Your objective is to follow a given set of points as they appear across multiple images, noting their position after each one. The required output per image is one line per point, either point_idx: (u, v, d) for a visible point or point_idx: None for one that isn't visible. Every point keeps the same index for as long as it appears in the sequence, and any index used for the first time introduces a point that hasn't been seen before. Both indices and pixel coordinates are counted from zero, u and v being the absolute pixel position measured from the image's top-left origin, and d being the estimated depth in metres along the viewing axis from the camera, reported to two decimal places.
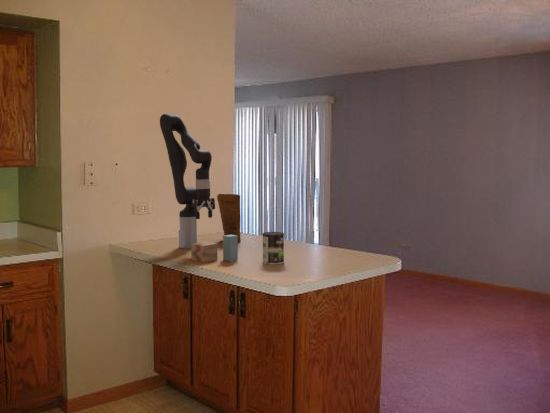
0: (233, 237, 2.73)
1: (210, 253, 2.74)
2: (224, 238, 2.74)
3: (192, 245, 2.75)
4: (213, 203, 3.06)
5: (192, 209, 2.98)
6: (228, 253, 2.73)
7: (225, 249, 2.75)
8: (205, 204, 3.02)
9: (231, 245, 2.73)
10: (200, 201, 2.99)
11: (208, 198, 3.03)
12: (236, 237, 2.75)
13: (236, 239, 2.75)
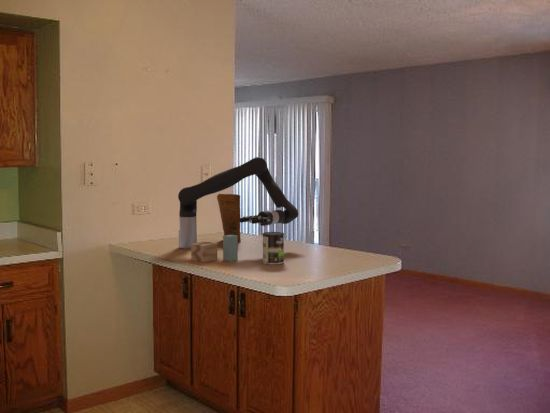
0: (233, 237, 2.74)
1: (210, 253, 2.74)
2: (224, 238, 2.74)
3: (192, 245, 2.75)
4: (248, 221, 2.92)
5: (263, 219, 2.82)
6: (228, 253, 2.73)
7: (225, 249, 2.75)
8: None
9: (231, 245, 2.73)
10: None
11: None
12: (236, 237, 2.75)
13: (236, 239, 2.75)
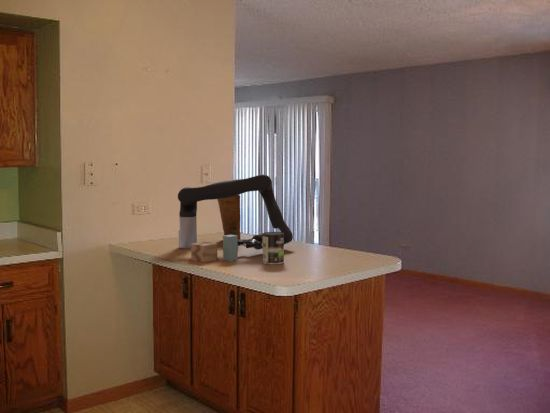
0: (233, 237, 2.73)
1: (210, 253, 2.74)
2: (224, 238, 2.74)
3: (192, 245, 2.75)
4: (242, 244, 2.90)
5: (257, 243, 2.80)
6: (228, 253, 2.73)
7: (225, 249, 2.75)
8: None
9: (231, 245, 2.73)
10: None
11: None
12: (236, 237, 2.75)
13: (236, 239, 2.75)
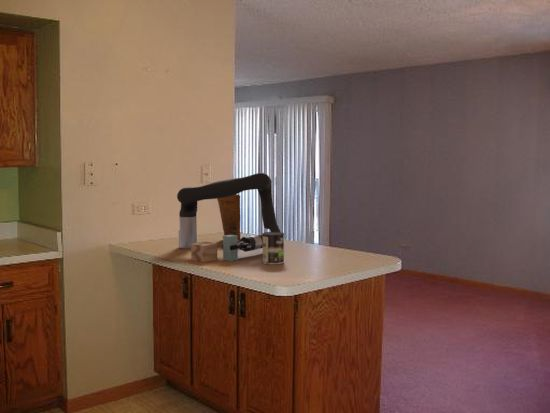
0: (233, 237, 2.73)
1: (210, 253, 2.74)
2: (224, 238, 2.74)
3: (192, 245, 2.75)
4: None
5: (242, 245, 2.74)
6: (228, 253, 2.73)
7: (225, 249, 2.75)
8: None
9: None
10: None
11: None
12: (236, 237, 2.75)
13: (236, 238, 2.75)
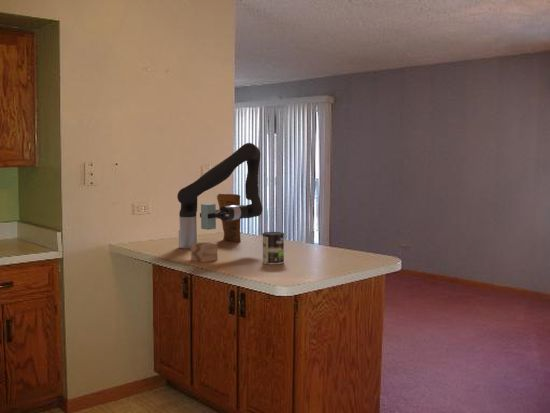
0: (211, 205, 2.73)
1: (210, 253, 2.74)
2: (202, 206, 2.74)
3: (192, 245, 2.75)
4: None
5: (219, 214, 2.73)
6: (205, 222, 2.73)
7: (203, 218, 2.74)
8: None
9: (209, 213, 2.72)
10: None
11: None
12: (214, 205, 2.74)
13: (214, 207, 2.74)
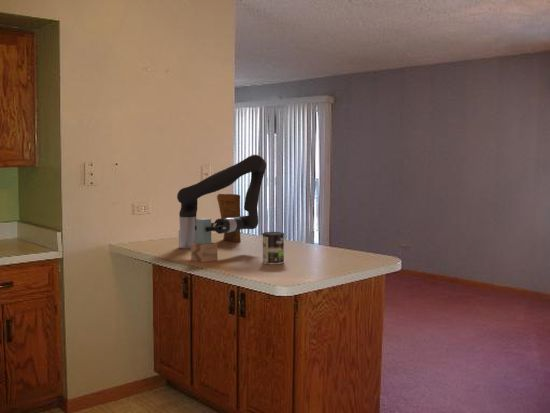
0: (206, 220, 2.74)
1: (210, 253, 2.74)
2: (197, 221, 2.74)
3: (192, 245, 2.75)
4: None
5: (218, 227, 2.73)
6: (201, 237, 2.74)
7: (198, 233, 2.75)
8: None
9: (204, 228, 2.73)
10: (219, 229, 2.79)
11: None
12: (210, 220, 2.75)
13: (210, 222, 2.75)
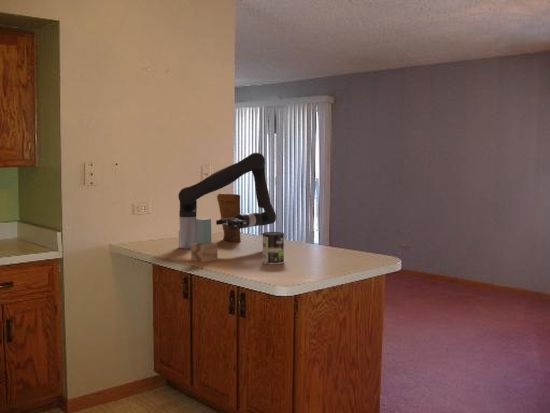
0: (206, 220, 2.74)
1: (210, 253, 2.74)
2: (197, 221, 2.74)
3: (192, 245, 2.75)
4: (225, 223, 2.94)
5: (239, 222, 2.84)
6: (201, 237, 2.74)
7: (198, 233, 2.75)
8: None
9: (204, 228, 2.73)
10: None
11: None
12: (210, 220, 2.75)
13: (210, 222, 2.75)
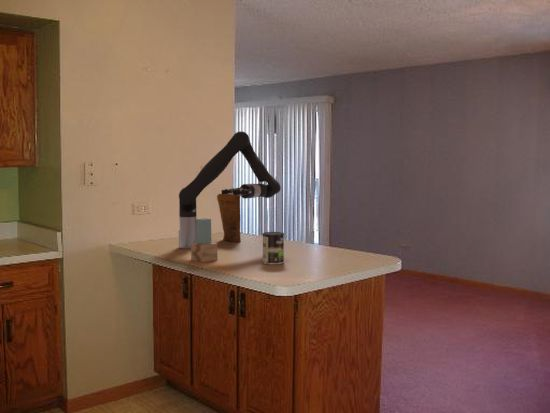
0: (206, 220, 2.74)
1: (210, 253, 2.74)
2: (197, 221, 2.74)
3: (192, 245, 2.75)
4: (230, 193, 2.96)
5: (245, 191, 2.85)
6: (201, 237, 2.74)
7: (198, 233, 2.75)
8: None
9: (204, 228, 2.73)
10: (244, 193, 2.91)
11: None
12: (210, 220, 2.75)
13: (210, 222, 2.75)
